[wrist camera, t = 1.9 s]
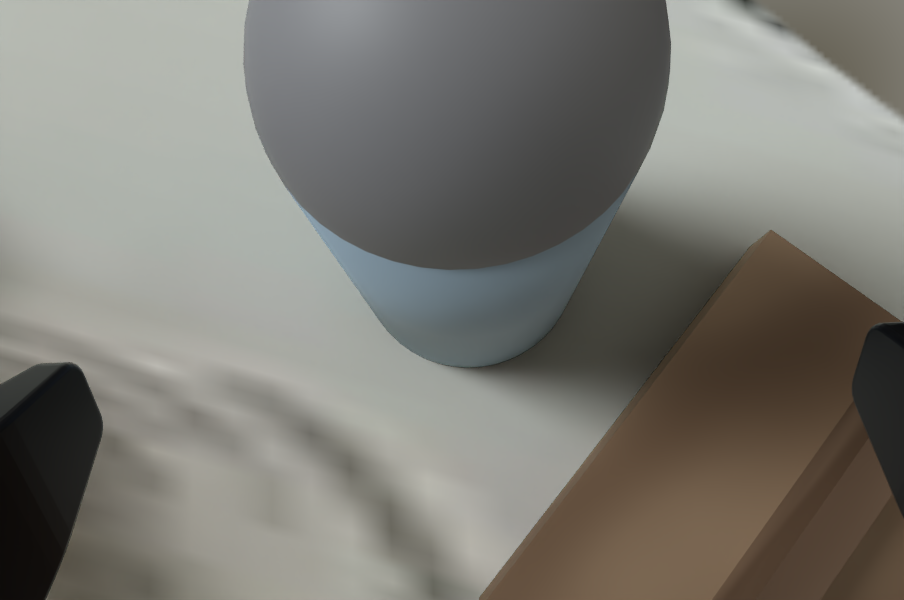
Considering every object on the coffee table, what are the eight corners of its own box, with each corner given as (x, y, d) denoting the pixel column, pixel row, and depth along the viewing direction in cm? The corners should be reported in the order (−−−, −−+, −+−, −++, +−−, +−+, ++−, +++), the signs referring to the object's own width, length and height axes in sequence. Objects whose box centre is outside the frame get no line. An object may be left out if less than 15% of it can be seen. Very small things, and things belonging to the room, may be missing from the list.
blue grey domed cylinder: (588, 355, 19) (790, 151, 7) (370, 377, 19) (165, 216, 7) (560, 153, 21) (684, -333, 8) (356, 174, 21) (166, -271, 8)
